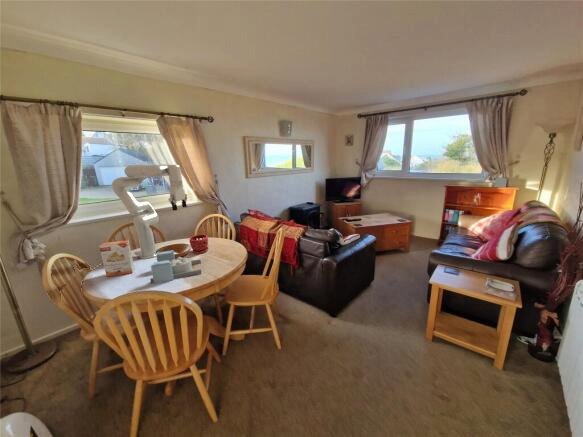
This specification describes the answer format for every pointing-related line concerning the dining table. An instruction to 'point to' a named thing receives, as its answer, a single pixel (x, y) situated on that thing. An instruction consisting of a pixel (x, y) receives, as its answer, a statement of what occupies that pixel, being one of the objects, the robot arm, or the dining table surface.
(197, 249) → the plant pot
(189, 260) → the lumpy-topped squat cylinder
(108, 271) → the cracker box
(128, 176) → the robot arm
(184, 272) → the grey long bars
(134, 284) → the dining table surface
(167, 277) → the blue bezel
